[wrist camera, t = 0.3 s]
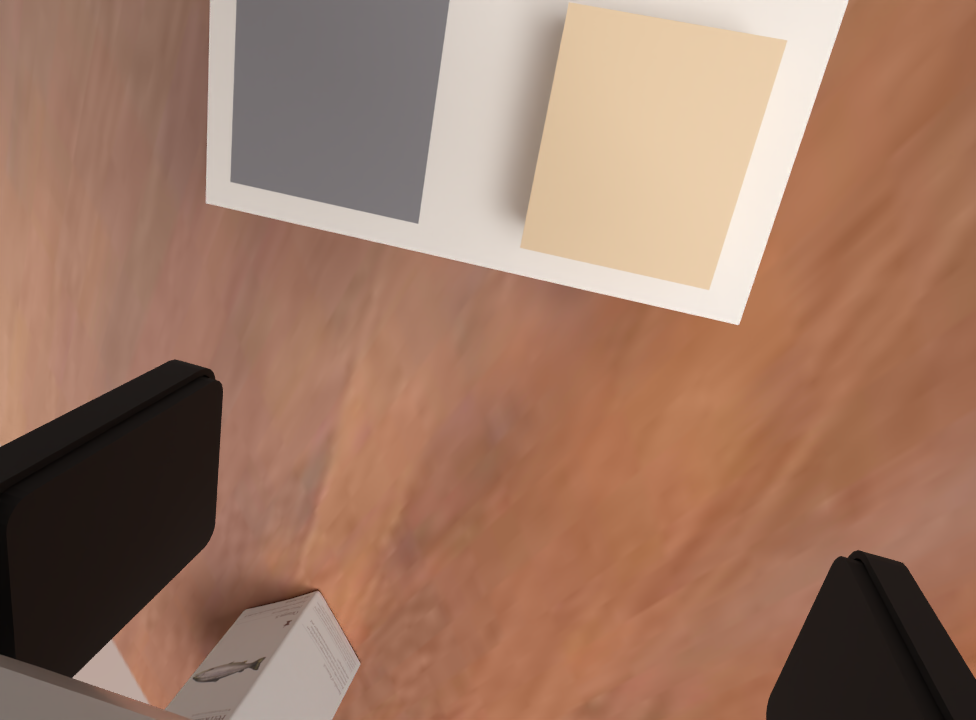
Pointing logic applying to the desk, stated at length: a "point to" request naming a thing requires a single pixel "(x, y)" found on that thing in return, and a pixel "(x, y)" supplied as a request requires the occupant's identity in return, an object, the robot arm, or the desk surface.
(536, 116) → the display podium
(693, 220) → the kraft carton
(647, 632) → the desk surface
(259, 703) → the supplement box
